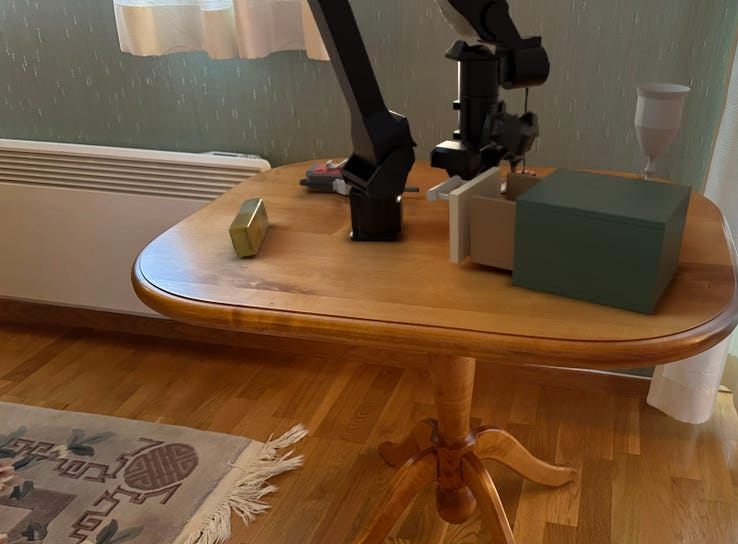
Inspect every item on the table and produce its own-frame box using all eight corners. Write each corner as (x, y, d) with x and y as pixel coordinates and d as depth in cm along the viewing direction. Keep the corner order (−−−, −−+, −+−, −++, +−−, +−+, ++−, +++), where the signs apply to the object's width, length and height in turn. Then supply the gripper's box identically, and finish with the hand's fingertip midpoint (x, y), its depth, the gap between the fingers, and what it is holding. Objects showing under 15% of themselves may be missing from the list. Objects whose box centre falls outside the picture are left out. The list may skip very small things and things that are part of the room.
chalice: (614, 218, 100) (631, 89, 90) (623, 204, 105) (639, 81, 96) (665, 225, 98) (687, 94, 88) (671, 210, 103) (693, 85, 93)
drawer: (416, 255, 86) (414, 187, 81) (461, 224, 95) (461, 161, 90) (568, 287, 78) (575, 214, 73) (600, 250, 87) (608, 183, 83)
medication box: (251, 226, 97) (243, 199, 95) (270, 224, 97) (263, 196, 95) (236, 258, 87) (227, 228, 84) (257, 255, 87) (248, 225, 85)
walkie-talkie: (295, 195, 108) (418, 200, 106) (291, 168, 106) (417, 172, 104) (311, 179, 116) (427, 183, 114) (308, 153, 113) (426, 157, 112)
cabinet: (511, 284, 81) (515, 198, 75) (552, 245, 91) (558, 167, 85) (650, 315, 74) (665, 222, 69) (676, 269, 85) (692, 186, 79)
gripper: (504, 112, 84) (500, 231, 92) (556, 87, 98) (549, 192, 106) (426, 103, 88) (429, 218, 96) (487, 81, 102) (485, 182, 111)
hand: (477, 202), depth 102 cm, fingers open, 6 cm apart
